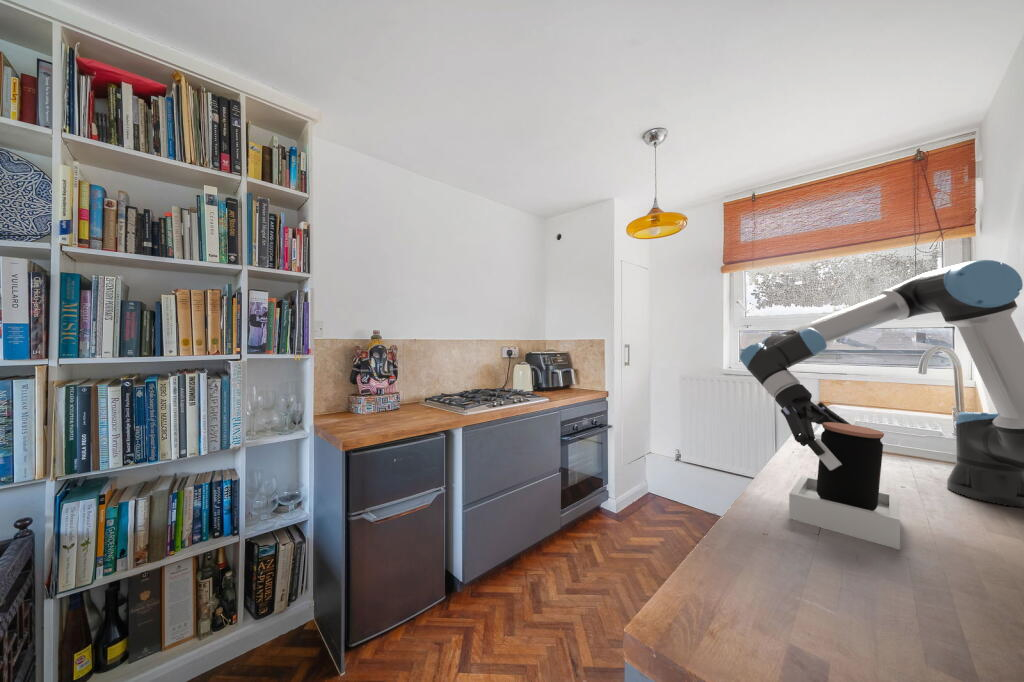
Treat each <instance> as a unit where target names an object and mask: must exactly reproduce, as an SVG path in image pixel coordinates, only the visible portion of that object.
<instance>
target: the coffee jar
mask: <svg viewBox="0 0 1024 682" xmlns="http://www.w3.org/2000/svg"><path fill="white" fill-rule="evenodd" d="M850 424H851V423H850ZM850 424H843V423H834V422H824V423H822V424H821V425H822V428H823V429H824V430H823V431H822V432H821V433H820V440H821V441H822V443H823V444H824V445H825V446H826V447H827V448H828V449H829V450H830V451H831V453H832V454H833V455H834V456H835V457H836V458H837V459H838V460H839V461H840V463H841V464H842V465H840V466H839V467H837V468H835V469H833V470H829V469H828V468H827V466H826V465H825V464H824V463H823V462H822V461H821V460H820V458H819V457H818V465H817V466H818V467H817V468H818V469H817V477H816V478H817V489H816V491H817V494H818V495H819V497H820V498H821V499H824V500H828V501H832V502H836V503H841V504H845V505H849V506H853V507H858V508H862V509H866V510H870V511H874V510H875V509H876V508H877V507H878V496H879V491H880V486H881V485H880V483H881V472H882V461H883V450H884V443H883V442H882V441H881V439H882V438H884V437H885V433H884V432H882V431H880V430H877V429H875V428H870V427H867V426H860V425H855V424H851V425H850Z"/></svg>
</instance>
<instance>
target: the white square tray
mask: <svg viewBox="0 0 1024 682" xmlns="http://www.w3.org/2000/svg"><path fill="white" fill-rule="evenodd" d="M816 489H817V477H812V476H809V475H808V476H807V475H805V474H804V475H803V474H801V476H800V477H799V479H798V480H797V482H796V483H795V485H794V486H793V487H792V488H791V490H790V492H789V493H788V495H789V496H788V497H789V498H788V500H789V502H788V505H789V506H788V507H789V509H788V510H789V511H788V516H789V517H788V518H790V519H789V520H792V519H793V521H796V522H800V523H803V524H807V525H811V526H814V527H818V528H822V529H824V530H825V529H826V530H827V531H828V530H829V531H832V532H835V533H839V534H843V535H846V536H848V537H849V536H850V537H854V538H856V539H860V540H863V541H868V542H871V543H875V544H879V545H883V546H885V547H889V548H893V549H896V550H901V517H900V516H901V515H900V512H901V511H900V498H899V494H896V493H889V492H885V491H881V490H879V496H878V507H877V508H876V509H875V510H874V511H870V510H866V509H862V508H858V507H853V506H849V505H845V504H841V503H836V502H832V501H828V500H824V499H821V498H820V497H819V495H818V494H817V491H816Z"/></svg>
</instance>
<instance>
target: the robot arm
mask: <svg viewBox="0 0 1024 682" xmlns="http://www.w3.org/2000/svg"><path fill="white" fill-rule="evenodd" d="M1021 290H1023V279H1022V277H1021V275H1020V274H1019V273H1018V271H1017V270H1016V269H1014V267H1013V266H1011V265H1009V264H1007V263H1004V262H1001V261H997V260H993V259H979V260H974V261H966V262H960V263H958V264H957V263H956V264H954V265H951V266H950V265H949V266H945V267H942V268H938V269H934V270H929V271H926V272H923V273H921V274H919V275H917V276H914V277H912V278H910V279H908V280H905V281H903V282H901V283H899V284H897V285H894V286H892V287H890V288H887V289H885V290H883V291H881V292H880V293H879V296H877V297H874V298H871V299H868V300H866V301H863V302H860V303H857V304H855V305H853V306H850V307H848V308H845V309H841V310H839V311H837V312H834V313H832V314H828V315H826V316H823V317H821V318H818V319H816V320H813V321H810V322H808V323H805V324H802V325H800V326H797V327H795V328H792V329H791V330H787V331H785V332H781V333H779V334H776V335H774V334H773V335H769V336H767V337H766V338H764V339H763V341H762V342H756V343H752V344H750V345H748V346H747V347H745V348H744V349H743V350H742V351H741V353H740V355H739V359H740V361H741V363H742V364H743V365H744V366H745V368H746V369H747V370H748V371H749V373H751V374H752V376H753V377H754V378H755V379H756V380H757V381H758V382H759V384H761V385H762V387H763V389H765V391H767V394H769V395H770V396H771V397H772V398H774V401H775V402H776V403H777V404H778V406H780V407H781V409H780V413H781V414H782V415H783V416H784V419H786V422H787V425H788V427H789V429H790V431H791V433H792V436H793V438H794V440H795V441H796V442H797V443H798V444H800V446H802V447H805V446H808V447H809V448H810V449H811V450H812V452H813V453H814V454H815V455H816V456H817V458H818V459H819V458H820V460H821V461H822V462H823V463H824V464H825V465H826V466H827V468H828V469H829V470H833V469H835V468H837V467H839V466H840V465H842V464H841V463H840V461H839V460H838V459H837V458H836V457H835V456H834V455H833V454H832V453H831V451H830V450H829V449H828V448H827V447H826V446H825V445H824V444H823V443H822V441H821V438H816V436H815V432H814V428H813V423H815V424H816V425H822V423H824V422H834V423H843V424H850V425H852V424H851V423H849V422H848V421H846V420H845V419H844V418H842V417H841V416H840V415H838V414H837V413H835V412H834V411H832V410H831V409H830V408H828V407H827V406H826V405H825V404H824V403H823V402H819V403H817V404H815V403H814V402H812V398H813V394H812V393H811V392H810V391H809V390H808V389H807V388H806V387H805V386H804V385H803V384H801V382H800V380H799V379H798V378H797V377H796V376H795V375H793V373H792V372H791V371H790V370H789V368H791V367H794V366H795V365H797V364H800V363H802V362H804V361H806V360H808V359H809V358H813V357H816V356H817V355H819V354H820V353H822V352H824V351H826V349H827V345H828V343H831V342H834V341H837V340H839V339H842V338H846V337H848V336H851V335H853V334H856V333H859V332H861V331H865V330H868V329H870V328H873V327H876V326H879V325H882V324H884V323H887V322H890V321H893V320H898V321H902V320H903V321H904V320H906V319H909V318H912V317H915V316H921V315H927V314H932V313H941V315H942V317H943V320H944V321H945V323H946V324H950V325H953V326H956V327H957V329H958V331H959V333H960V335H961V337H962V339H963V342H964V344H965V345H966V348H967V351H968V352H969V355H970V356H971V359H972V361H973V363H974V366H975V367H976V369H977V371H978V374H979V376H980V378H981V380H982V381H983V385H984V387H985V388H986V391H987V392H988V395H989V397H990V399H991V401H992V404H993V405H994V408H995V409H996V412H997V413H995V412H977V411H976V412H975V411H973V412H971V411H961V412H959V413H958V414H957V415H956V419H955V423H954V424H955V425H954V426H956V427H955V429H956V430H955V431H956V432H955V433H956V434H955V435H956V440H955V441H956V449H955V450H956V462H955V464H954V467H953V469H952V471H951V472H950V474H949V476H948V477H947V481H946V482H947V483H946V487H947V489H948V490H949V489H950V490H949V491H951V492H953V491H954V492H953V493H955V492H956V493H955V494H958V493H959V494H958V495H960V494H962V495H961V496H963V495H965V496H964V497H966V496H967V497H966V498H970V497H971V498H970V499H973V498H974V500H977V499H979V500H978V501H981V500H983V501H982V502H985V501H988V502H987V503H990V502H994V503H993V504H995V503H999V504H998V505H1000V504H1006V505H1011V506H1010V507H1014V506H1018V507H1017V508H1024V340H1023V338H1022V336H1021V334H1020V331H1019V330H1018V328H1017V325H1016V323H1015V321H1014V320H1013V318H1012V317H1013V316H1012V314H1013V313H1014V312H1015V310H1017V308H1018V305H1017V303H1016V299H1017V298H1018V297H1019V296H1020V294H1021V292H1020V291H1021ZM1006 505H1005V506H1006Z"/></svg>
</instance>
